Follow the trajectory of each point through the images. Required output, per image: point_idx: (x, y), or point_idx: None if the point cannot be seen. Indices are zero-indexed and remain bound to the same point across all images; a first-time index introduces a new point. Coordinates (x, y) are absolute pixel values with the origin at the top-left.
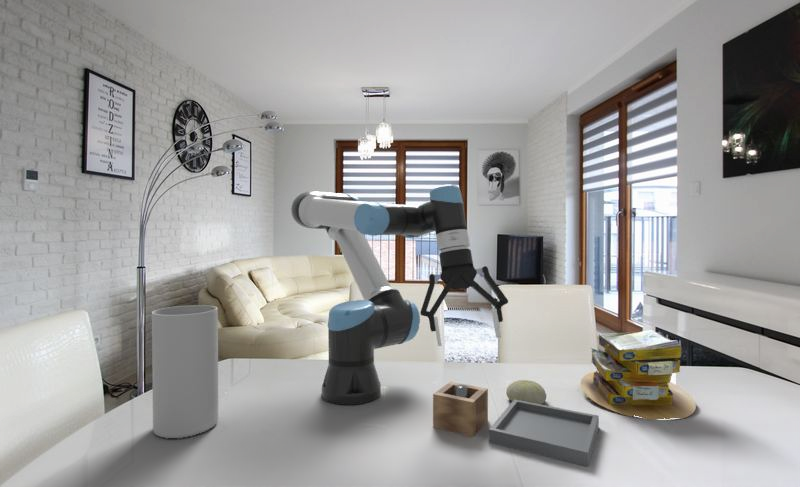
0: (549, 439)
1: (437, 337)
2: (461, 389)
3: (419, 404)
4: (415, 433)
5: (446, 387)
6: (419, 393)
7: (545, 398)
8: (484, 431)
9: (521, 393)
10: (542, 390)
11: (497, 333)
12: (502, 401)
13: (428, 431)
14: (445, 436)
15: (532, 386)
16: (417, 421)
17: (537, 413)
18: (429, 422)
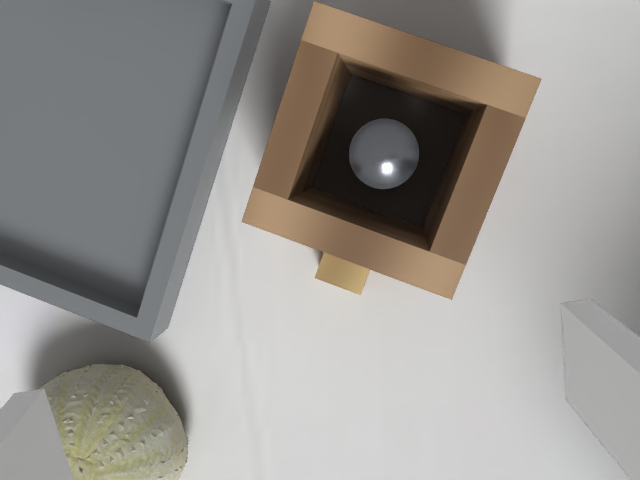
0: (42, 28)
1: (628, 334)
2: (379, 119)
3: None
4: (582, 12)
5: (468, 200)
6: (603, 462)
7: None
8: None
9: (111, 389)
10: None
11: (25, 409)
12: (213, 414)
13: (525, 44)
14: (447, 12)
15: None
16: (584, 136)
17: (72, 266)
18: (527, 136)
